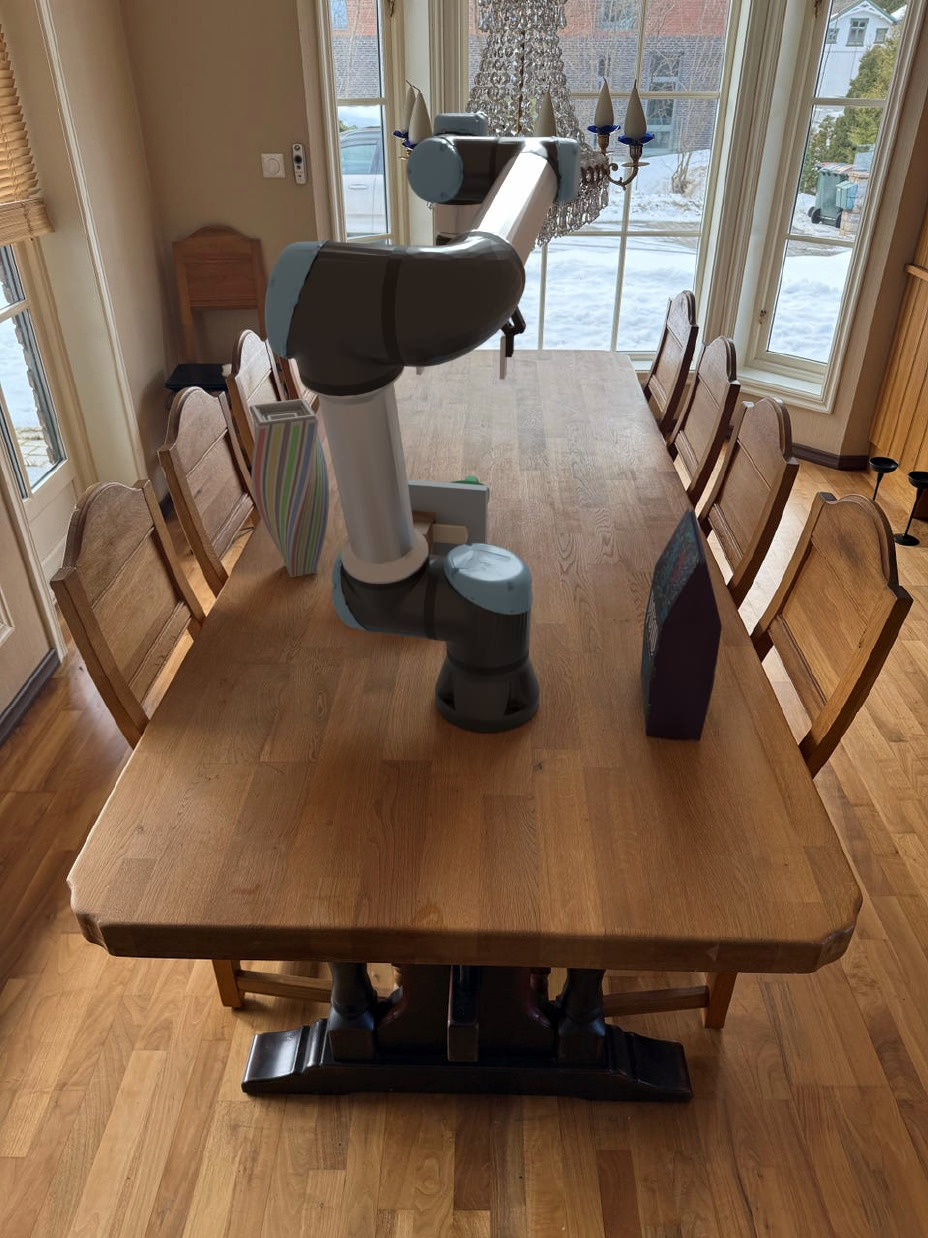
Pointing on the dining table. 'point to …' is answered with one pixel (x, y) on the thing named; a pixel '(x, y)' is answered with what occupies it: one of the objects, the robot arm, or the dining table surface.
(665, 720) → the decorative box
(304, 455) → the vase
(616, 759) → the dining table surface
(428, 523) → the brown block
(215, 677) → the dining table surface
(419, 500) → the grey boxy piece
